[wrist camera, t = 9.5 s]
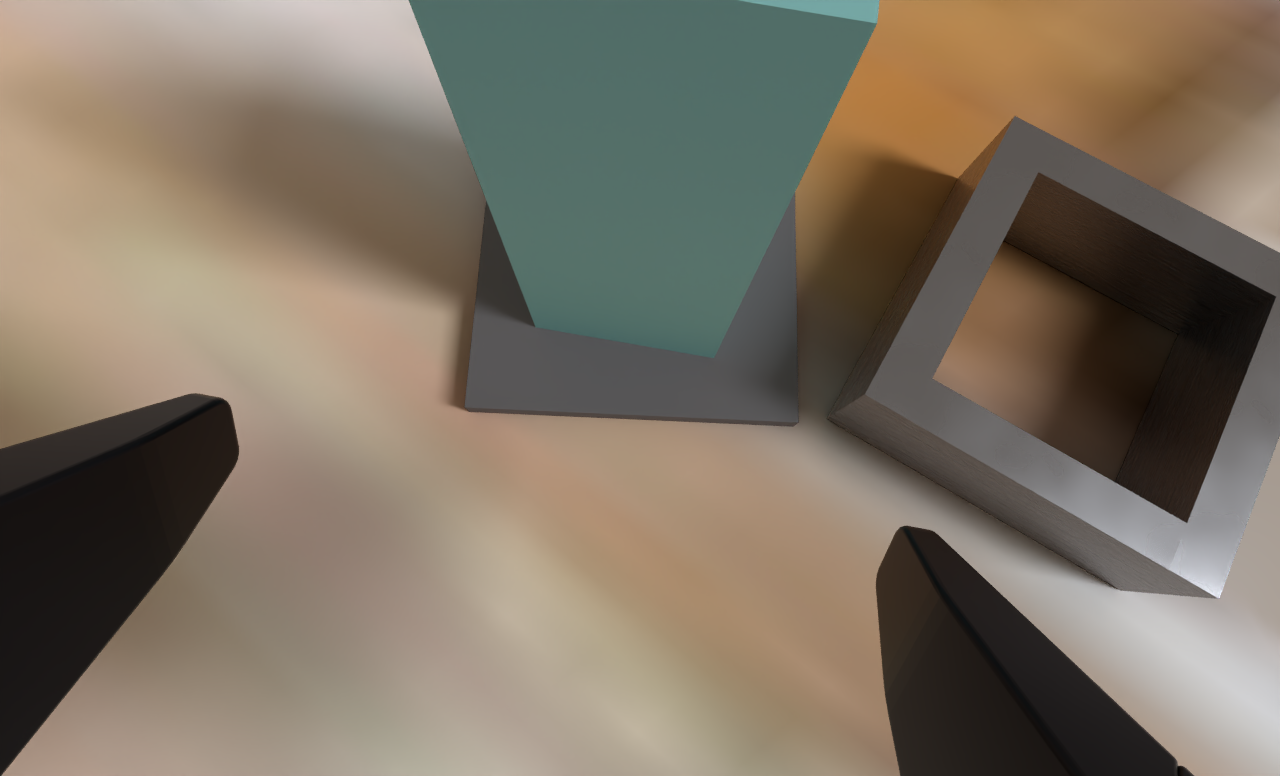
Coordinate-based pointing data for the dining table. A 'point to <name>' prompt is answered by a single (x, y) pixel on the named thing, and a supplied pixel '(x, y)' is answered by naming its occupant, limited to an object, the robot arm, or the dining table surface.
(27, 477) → the robot arm
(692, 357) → the dark grey pad
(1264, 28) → the dining table surface
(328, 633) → the dining table surface
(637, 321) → the teal block
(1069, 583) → the dining table surface
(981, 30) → the dining table surface
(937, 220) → the grey holder
